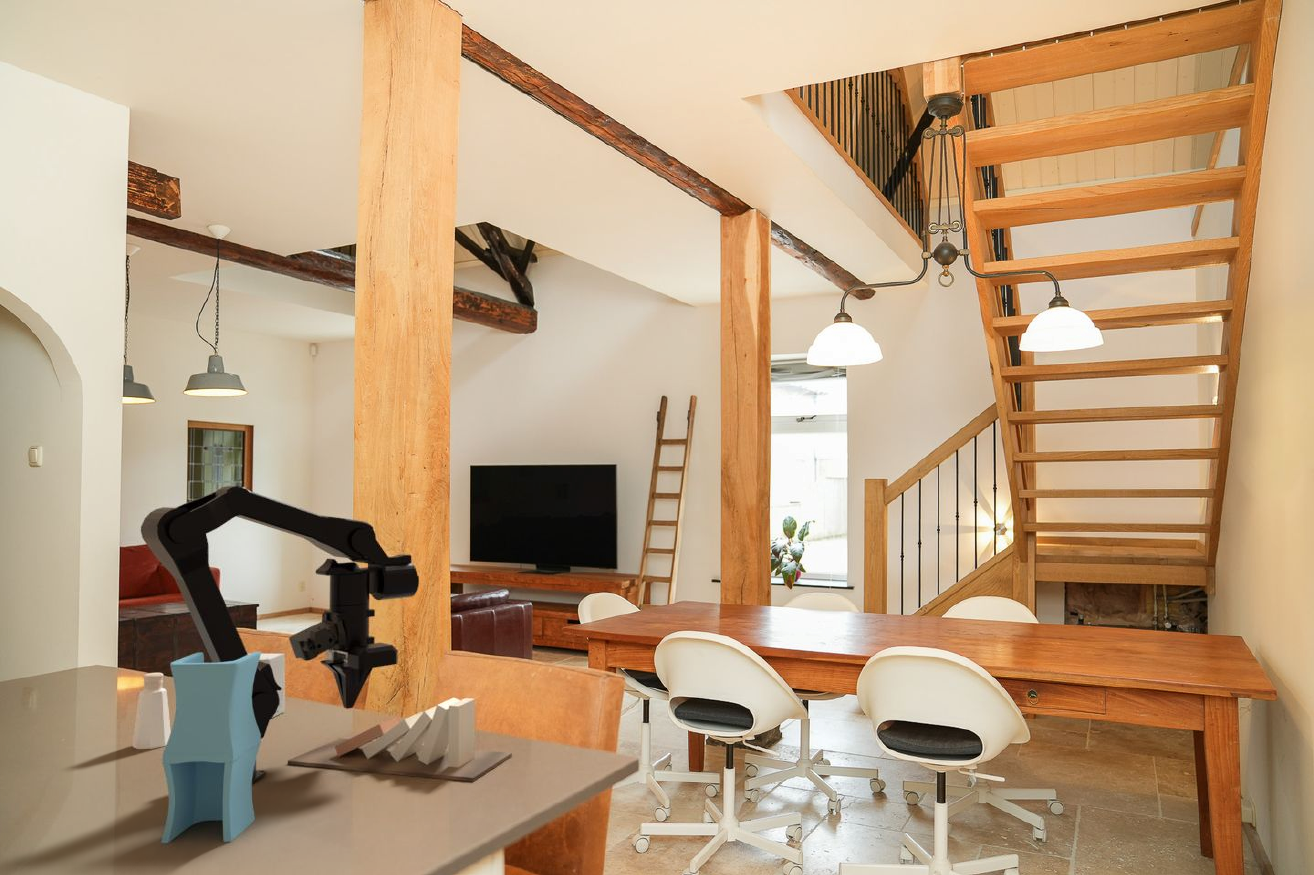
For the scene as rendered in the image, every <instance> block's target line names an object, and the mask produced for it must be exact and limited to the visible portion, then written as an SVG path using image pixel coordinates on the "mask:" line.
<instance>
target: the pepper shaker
mask: <svg viewBox="0 0 1314 875" xmlns="http://www.w3.org/2000/svg"><path fill="white" fill-rule="evenodd" d="M164 677H165V676H164V673H162V672H149V673H146V674H144V675H143V676H142V678H143V689H142V690H140V692H139V694H138V698H137V699H138V700H137V708H136V715H135V721H134V723H135V724H134V730H133V737H132V744H131V747H132V748H134V749H136V750H152V749H157V748H159V749H160V748H162V747H166V745H167V742H168V739H169V736H170V734H171V731H172V730H171V721H170V713H169V712H170V711H169V702H168V701H169V700H168V692H167V689H166V688H165V687H163V683H164V680H163V678H164Z"/></svg>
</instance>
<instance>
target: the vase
mask: <svg viewBox="0 0 1314 875" xmlns="http://www.w3.org/2000/svg"><path fill="white" fill-rule="evenodd" d="M248 654H249V655H247V656H244V657H242V658H240V659H237V660H235V661H229V662H219V663H213V662H205V656H204V652H196V653H192V654H190V655H187V656H184V657H182V658H180V659H177V660H174V661H172V662H170V670H171V675H172V678H173V684H174V689H175V691H174V692H175V700H176V701H175V714H174V718H173V723H172V728H171V730H170V731H171V734H170V736H169V739H168V742H167V745H166V746H164V747H165V748H164V750H163V752H162V766H163V770H164V774H165V778H166V784H167V792H168V811H167V817H166V822H165V827H164V830H163V834H162V837H161V842H160V844H169V843H170V842H172V841H173V840H174V839H175V838H176V837H178V836H180V835H181V833H183V832H184V831H185V830H187V829H188V828H189V827H191V826H192V825H195V824H198V823H202V822H208V821H209V822H210V821H222V834H223V836H222V838H223V843H231V842H233V841H234V840H235V839H236V838H237V837H239V836H240V834H242V833H243V832H245V830H246V829H247V828H249V826H251V825H252V824H253V823H254V822H255V820H256V818H255V811H254V805H253V797H252V795H253V794H252V785H253V784H252V776H253V770H254V765H255V761H256V762H257V756H258V753H259V750H260V746H261V742H262V741H261V740H262V739H261V734H260V731H259V728H258V726H257V723H256V720H255V716H254V712H253V707H252V688H253V682H254V677H255V673H256V669H257V665H258V662H259V659H260V656H261V654H262V651H254V652H251V653H248Z"/></svg>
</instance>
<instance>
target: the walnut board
mask: <svg viewBox="0 0 1314 875" xmlns="http://www.w3.org/2000/svg"><path fill="white" fill-rule="evenodd" d="M349 739H350V738H349ZM349 739H348V738H341V737H340V738H337V739H334V740H332V741H330V742H327V743H325V744H322V745H321V746H318V747H316V748H314V749H311V750H309V751H307V752H306V751H305V753H302V754H300V755H298V756H295V757H293V758H289V759H287V765H295V766H304V767H305V766H306V767H316V768H323V769H324V768H326V769H334V770H335V769H336V770H337V769H338V770H344V771H345V770H348V771H356V772H357V771H358V772H366V773H367V772H368V773H379V774H388V775H389V774H390V775H398V776H410V777H411V776H412V777H419V778H420V777H421V778H429V779H431V778H432V779H441V780H442V779H443V780H452V781H462V782H475V781H477V780H478V779H479V778H481V777H482V776H484V775H485V774H487V773H488V772H491V770H493V769H495V768H496V767H498V766H499V765H500V764H502V763H504V762H505V761H507V760H508V759H510V758H512V756H513V754H512V752H507V751H506V752H505V751H494V750H483V749H482V750H481V749H475V758H473V759H472V760H470V761H469V762H467V763H465V764H464V765H462V766H460V767H449V746H447V749H446V752H445V755H444V756H442V757H440V758H438V759H436V760H435V761H433V762H431V763H429V764H428V765H427V764H425V763H423V762H421V761H419V760H418V758H419V756H420V753H421V750H422V747H423V744H422V745H421V746H420V748H419V749H418V750H417V751H416V752H415V753H414V754H412V755H410V756H408V757H406V758H404V759H402V760H400V761H398V762H397V761H396V760H395V759H394V758H393V757H392V755H391V752H392V751H393V750H394V749H395V747H396V746H397V745H398V744H399V742H397V743H396V744H394V745H393V746H391V747H390V748H389V749H387V750H386V751H384V752H381V753H379V754H377V755H375V756H373V757H371V758H369V759H367V757H366V755H365V754H364V752H363V749H364V748H365V747H367V746H368V745H370V744H371V743H372V742H374V741H375V740H373V741H371V742H369V743H367V744H365V745H363V746H361V747H359V748H356V749H354V750H352V751H350V752H348V753H346V754H343V755H341V756H339V757H338V754H337V752H336V749H335V746H337V745H339V744H341V743H343V742H345V741H347V740H349Z"/></svg>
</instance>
